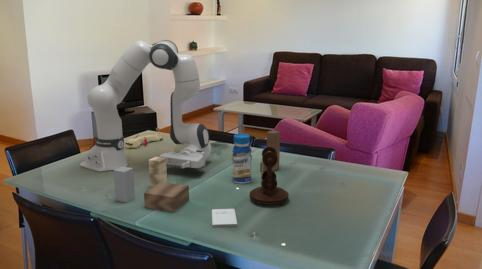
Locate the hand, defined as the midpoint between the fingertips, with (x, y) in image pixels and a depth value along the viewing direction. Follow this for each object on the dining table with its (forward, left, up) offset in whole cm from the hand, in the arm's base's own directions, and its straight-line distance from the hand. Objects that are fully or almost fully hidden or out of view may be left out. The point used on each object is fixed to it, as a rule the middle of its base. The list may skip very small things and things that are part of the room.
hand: (171, 164), depth 183 cm
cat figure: (-47, +42, -7) cm, 63 cm away
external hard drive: (+38, -26, -7) cm, 47 cm away
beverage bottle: (+28, +11, -7) cm, 31 cm away
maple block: (0, -10, -7) cm, 12 cm away
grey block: (-4, -26, -7) cm, 27 cm away
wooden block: (+34, +29, -7) cm, 45 cm away
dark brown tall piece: (+46, -4, -7) cm, 47 cm away
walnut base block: (+13, -23, -7) cm, 27 cm away
